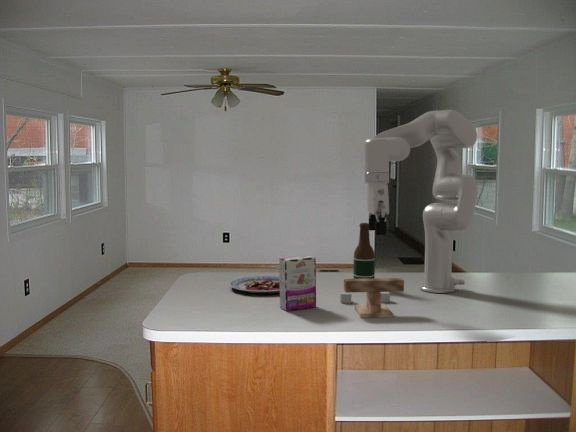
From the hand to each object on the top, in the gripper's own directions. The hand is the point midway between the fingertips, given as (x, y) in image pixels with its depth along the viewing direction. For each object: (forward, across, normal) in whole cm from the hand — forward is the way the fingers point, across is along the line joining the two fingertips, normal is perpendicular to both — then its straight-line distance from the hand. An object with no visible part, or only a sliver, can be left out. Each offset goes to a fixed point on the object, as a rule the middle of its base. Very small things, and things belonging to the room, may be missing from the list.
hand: (377, 232), depth 183 cm
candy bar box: (+24, +3, +26) cm, 35 cm away
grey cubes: (+25, +8, +2) cm, 26 cm away
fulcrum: (+24, -6, +3) cm, 25 cm away
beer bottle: (+25, +30, -2) cm, 40 cm away
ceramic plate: (+25, +32, +35) cm, 54 cm away
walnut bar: (+17, -6, +2) cm, 18 cm away
